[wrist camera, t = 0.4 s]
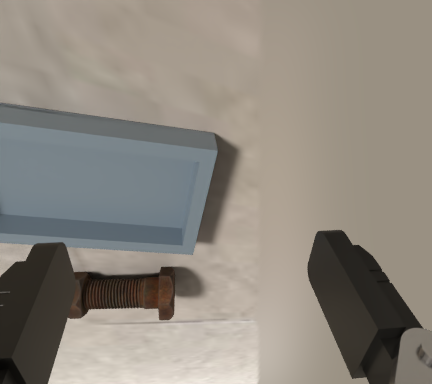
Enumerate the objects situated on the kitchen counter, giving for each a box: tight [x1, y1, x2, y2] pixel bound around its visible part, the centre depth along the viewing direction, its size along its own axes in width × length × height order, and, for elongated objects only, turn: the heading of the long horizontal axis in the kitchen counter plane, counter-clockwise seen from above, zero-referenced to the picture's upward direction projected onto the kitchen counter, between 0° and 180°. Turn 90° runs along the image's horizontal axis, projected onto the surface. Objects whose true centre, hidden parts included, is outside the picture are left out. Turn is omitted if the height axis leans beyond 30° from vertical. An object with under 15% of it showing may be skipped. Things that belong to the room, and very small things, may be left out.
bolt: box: [68, 267, 175, 320], centre depth 36 cm, size 6×5×15 cm
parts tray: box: [0, 103, 218, 255], centre depth 28 cm, size 12×21×3 cm, turn 78°
